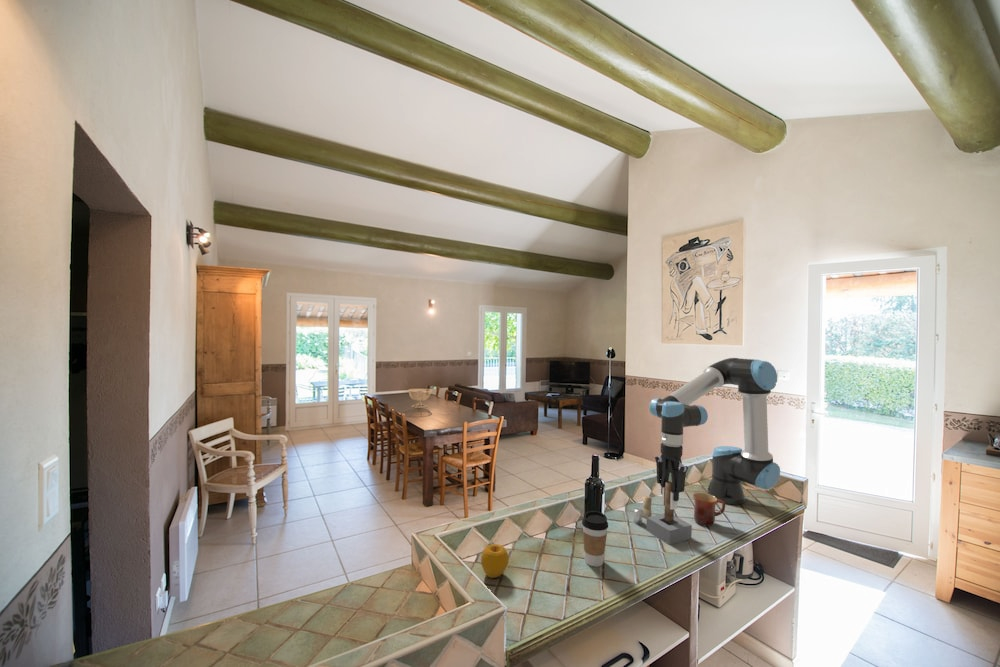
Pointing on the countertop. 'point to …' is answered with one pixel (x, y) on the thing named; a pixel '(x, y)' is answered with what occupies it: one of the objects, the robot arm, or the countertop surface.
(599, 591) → the countertop surface
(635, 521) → the steel pin
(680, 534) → the hole block
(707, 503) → the mug
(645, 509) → the beech pin
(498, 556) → the apple
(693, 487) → the countertop surface
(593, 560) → the coffee cup
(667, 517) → the walnut pin
